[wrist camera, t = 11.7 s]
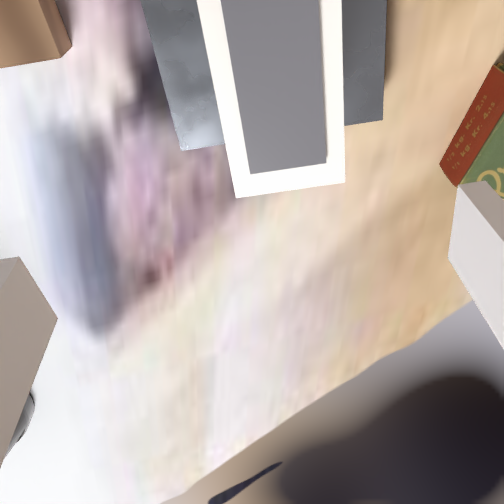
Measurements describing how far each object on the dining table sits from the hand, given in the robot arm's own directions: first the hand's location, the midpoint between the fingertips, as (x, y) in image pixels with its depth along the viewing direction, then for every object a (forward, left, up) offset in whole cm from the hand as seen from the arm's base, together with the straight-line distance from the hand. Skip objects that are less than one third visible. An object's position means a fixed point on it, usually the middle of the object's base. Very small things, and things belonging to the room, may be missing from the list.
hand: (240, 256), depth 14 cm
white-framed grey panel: (+2, +3, -21) cm, 21 cm away
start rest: (-13, +5, -21) cm, 25 cm away
